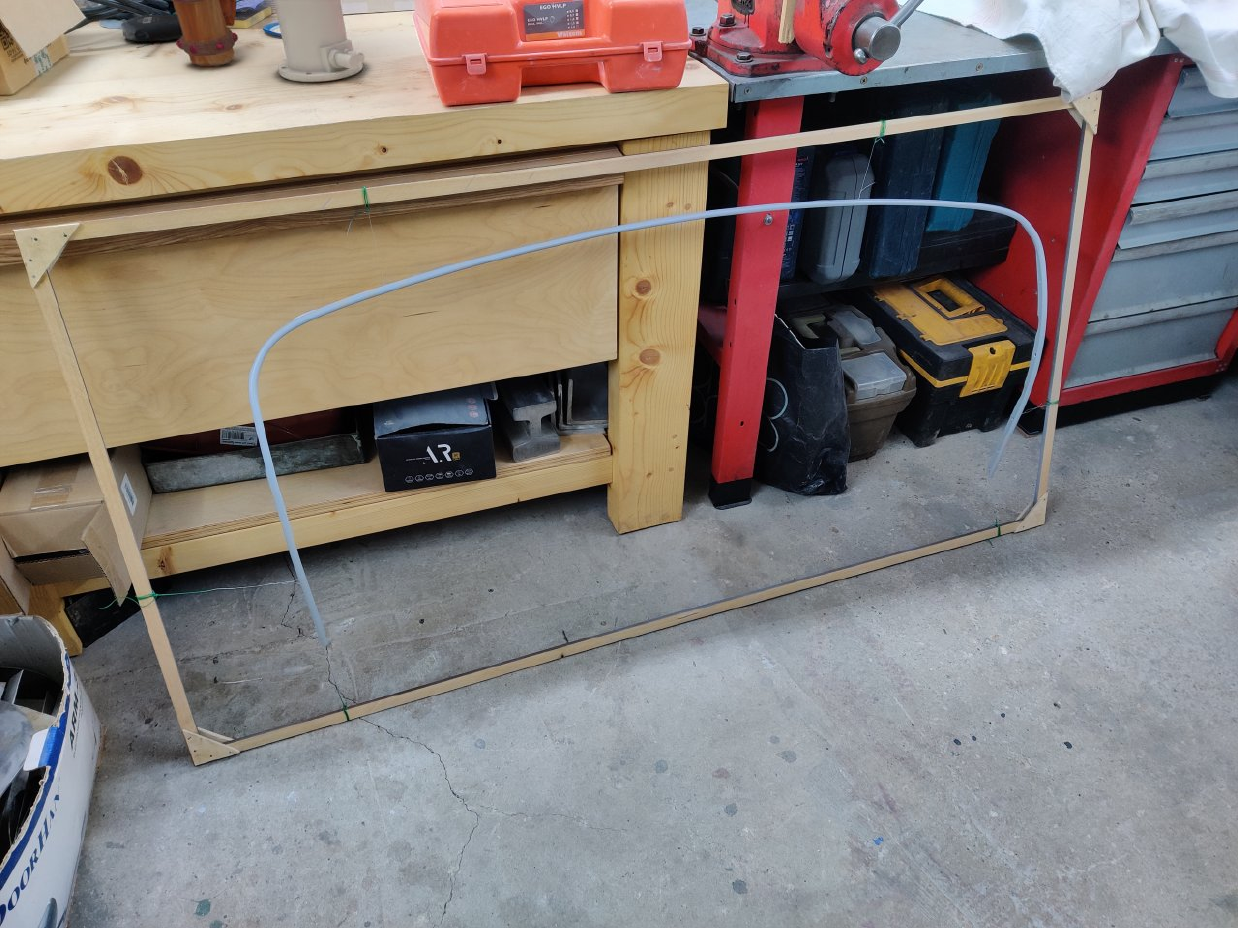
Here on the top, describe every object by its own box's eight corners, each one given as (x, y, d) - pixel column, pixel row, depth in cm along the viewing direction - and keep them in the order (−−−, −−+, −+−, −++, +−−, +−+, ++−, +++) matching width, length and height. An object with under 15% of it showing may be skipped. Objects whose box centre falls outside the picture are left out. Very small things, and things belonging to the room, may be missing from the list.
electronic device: (216, 34, 160) (124, 28, 155) (212, 1, 156) (117, -5, 151) (218, 55, 154) (122, 50, 149) (213, 21, 150) (114, 15, 145)
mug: (220, 73, 137) (190, -36, 127) (173, 70, 138) (140, -39, 128) (267, 48, 148) (243, -55, 138) (223, 45, 149) (196, -56, 140)
